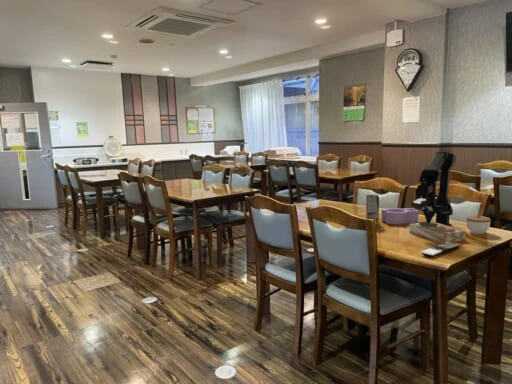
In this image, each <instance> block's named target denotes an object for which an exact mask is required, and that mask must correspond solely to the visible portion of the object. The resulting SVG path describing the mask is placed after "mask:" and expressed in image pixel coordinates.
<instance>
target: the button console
mask: <svg viewBox="0 0 512 384" xmlns="http://www.w3.org/2000/svg"><path fill="white" fill-rule="evenodd" d="M430 222H434V223H436V221H432V220H431V221H430ZM440 226H446V225H443V224H439V223H437V226H433V227H426V226H422V225H419V222H415V223H409V228H408V231H409V233H410V234H413V235H416V236H419V237H422V238H425V239H428V240H431V241H434V242H437V243H439V244H442V243H443V244H446V242H449V243H454V242H460V241H465V240H466V230H463V229H460V228H457V227H452V226H451V225H448V227H451V228H455V231H451V232H442V231H439V230H436V227H440Z"/></svg>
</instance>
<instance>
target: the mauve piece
mask: <svg viewBox="0 0 512 384" xmlns="http://www.w3.org/2000/svg"><path fill="white" fill-rule="evenodd" d="M419 212H420V209H416V208H415V207H411V208H410V207H407V208H406V207H405V208H398V207H397V208H395V207H394V208H393V207H392V208H391V207H390V208H384V209H381V220H380V221H381V222H384V221H385V224H386V225H389V224H390V225H405V224H414V223H419V216H420V215H419Z"/></svg>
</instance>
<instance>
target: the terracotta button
mask: <svg viewBox="0 0 512 384" xmlns="http://www.w3.org/2000/svg"><path fill="white" fill-rule="evenodd" d="M448 226H449V225H448ZM448 226H440V227H436V230H439V231H442V232H451V231H455V228H456V227H453V228H451V227H452V226H450V227H448Z"/></svg>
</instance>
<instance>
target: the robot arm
mask: <svg viewBox="0 0 512 384" xmlns="http://www.w3.org/2000/svg"><path fill="white" fill-rule="evenodd" d="M456 160H457V155H455V154H454V153H451V152H448V151H446V150H445V151H443V150H440V151H437V152H436V155H435V156H434V158H433V160H432V161H431V163H430V164H428V165H426V166H425V167H424V168H423V169H422V171H421V173H420V177H419V179H418V183H420V184H419V185H417V187H416V192H417V194H418V195H419V196H420V198H417V199H416V200H414V201H412V202H411V208H414V209H417V210H419V211H421V212H422V213H423V215H424V219H425V221H427V223H430V221H432V220H433V217H434V216H435V222H436V223H439V224H443V225H446V226H452V224H451V223H450V216H453V215H454V210H453V206H452V204H451V199H450V198H449V190H450V189H449V187H450V179H451V170H452V169H453V168H454V166H455V163H456ZM438 181H439V190H438V194H437V182H438Z"/></svg>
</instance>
